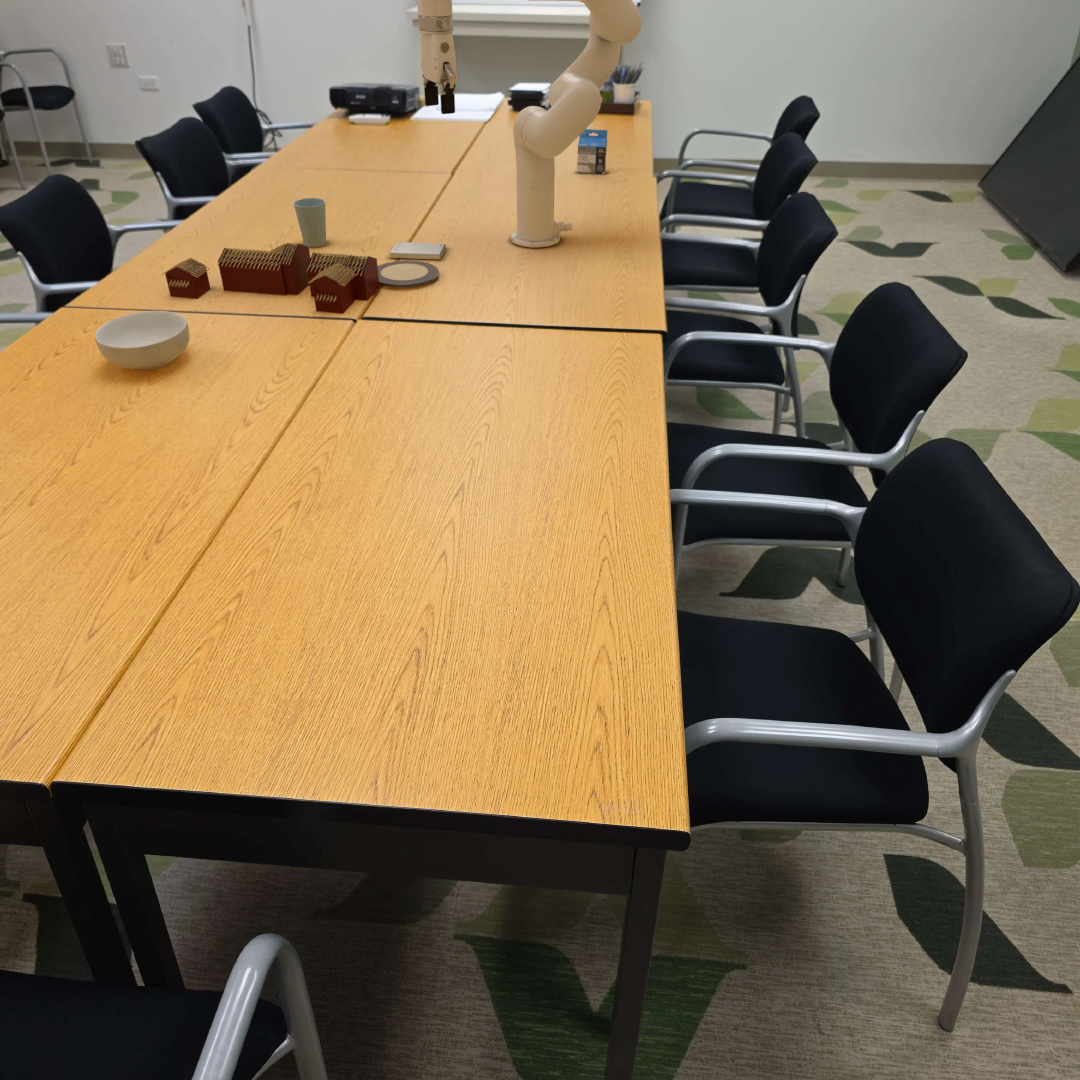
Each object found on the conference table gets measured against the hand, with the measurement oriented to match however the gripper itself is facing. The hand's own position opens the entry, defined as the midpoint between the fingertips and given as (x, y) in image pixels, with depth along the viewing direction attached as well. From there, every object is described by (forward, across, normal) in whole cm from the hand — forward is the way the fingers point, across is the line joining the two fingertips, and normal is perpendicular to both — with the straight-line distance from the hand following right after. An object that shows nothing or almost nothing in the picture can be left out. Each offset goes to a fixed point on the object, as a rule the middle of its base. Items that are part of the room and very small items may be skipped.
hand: (440, 109), depth 211 cm
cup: (+33, +20, +28) cm, 48 cm away
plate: (+33, -13, +16) cm, 39 cm away
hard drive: (+33, +1, +7) cm, 34 cm away
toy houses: (+33, -8, +46) cm, 57 cm away
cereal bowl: (+33, -34, +76) cm, 90 cm away
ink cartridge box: (+32, +48, -69) cm, 90 cm away
